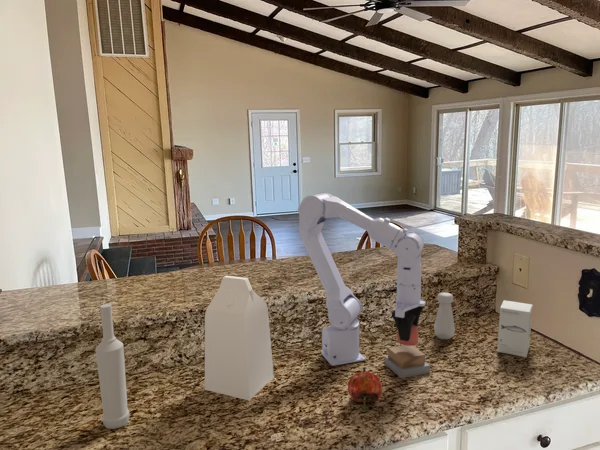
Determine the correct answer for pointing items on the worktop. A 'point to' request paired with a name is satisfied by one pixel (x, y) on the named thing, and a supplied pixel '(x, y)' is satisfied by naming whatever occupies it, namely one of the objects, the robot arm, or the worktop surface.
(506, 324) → the supplement box
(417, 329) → the red rounded block
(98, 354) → the bottle
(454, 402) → the worktop surface
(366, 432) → the worktop surface
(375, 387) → the red apple
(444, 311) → the salt shaker
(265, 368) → the milk
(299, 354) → the worktop surface
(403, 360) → the tower top block
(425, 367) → the tower base block
